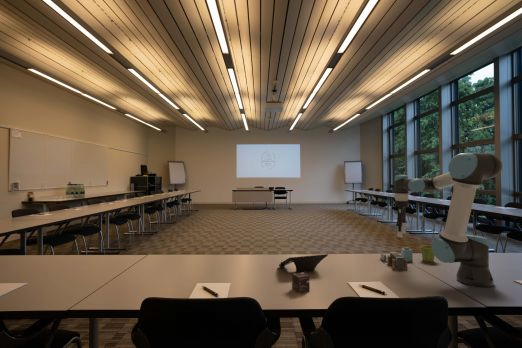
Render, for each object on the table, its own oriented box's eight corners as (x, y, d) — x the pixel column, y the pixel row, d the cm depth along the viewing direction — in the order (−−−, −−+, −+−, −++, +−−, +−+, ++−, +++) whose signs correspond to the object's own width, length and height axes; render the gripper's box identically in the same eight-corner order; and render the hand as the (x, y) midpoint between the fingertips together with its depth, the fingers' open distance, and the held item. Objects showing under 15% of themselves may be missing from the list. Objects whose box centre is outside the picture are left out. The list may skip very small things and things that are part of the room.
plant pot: (439, 261, 186) (439, 247, 187) (432, 263, 181) (432, 249, 181) (424, 258, 194) (424, 244, 194) (416, 260, 189) (416, 246, 189)
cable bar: (396, 262, 182) (396, 252, 182) (404, 268, 170) (404, 257, 170) (389, 262, 182) (389, 252, 182) (396, 268, 170) (396, 257, 170)
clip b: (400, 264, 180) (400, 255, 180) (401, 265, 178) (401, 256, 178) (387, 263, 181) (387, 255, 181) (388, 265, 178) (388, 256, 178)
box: (298, 293, 134) (298, 277, 134) (291, 289, 140) (291, 273, 140) (309, 291, 136) (309, 275, 137) (302, 287, 142) (302, 272, 142)
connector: (409, 259, 191) (409, 246, 191) (412, 261, 186) (412, 248, 186) (401, 259, 191) (401, 246, 192) (404, 261, 186) (404, 248, 187)
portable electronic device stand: (313, 275, 179) (310, 259, 183) (331, 267, 159) (327, 250, 164) (277, 279, 172) (275, 262, 176) (291, 271, 153) (288, 253, 157)
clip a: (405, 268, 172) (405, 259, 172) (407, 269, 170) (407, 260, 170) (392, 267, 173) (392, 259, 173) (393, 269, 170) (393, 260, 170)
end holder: (394, 258, 192) (393, 252, 192) (398, 262, 184) (398, 255, 184) (380, 258, 193) (380, 252, 193) (384, 262, 185) (384, 255, 185)
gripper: (397, 198, 196) (398, 231, 196) (391, 201, 175) (391, 237, 175) (410, 199, 192) (410, 232, 192) (405, 202, 171) (405, 239, 171)
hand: (401, 235), depth 183 cm, fingers open, 13 cm apart
